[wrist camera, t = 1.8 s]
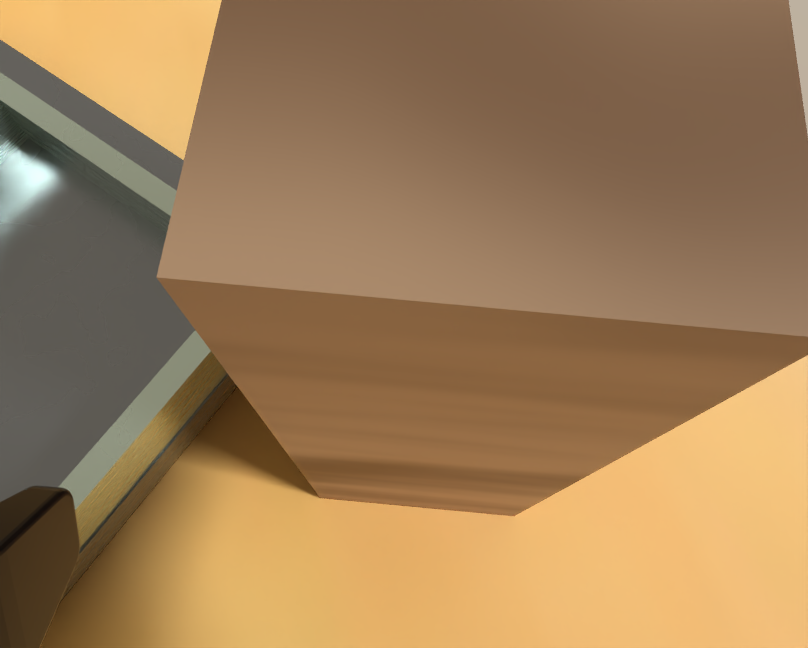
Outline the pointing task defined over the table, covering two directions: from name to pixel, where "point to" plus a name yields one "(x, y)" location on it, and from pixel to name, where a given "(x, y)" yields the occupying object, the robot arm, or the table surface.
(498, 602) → the table surface
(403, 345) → the tall wooden pillar
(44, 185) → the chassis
